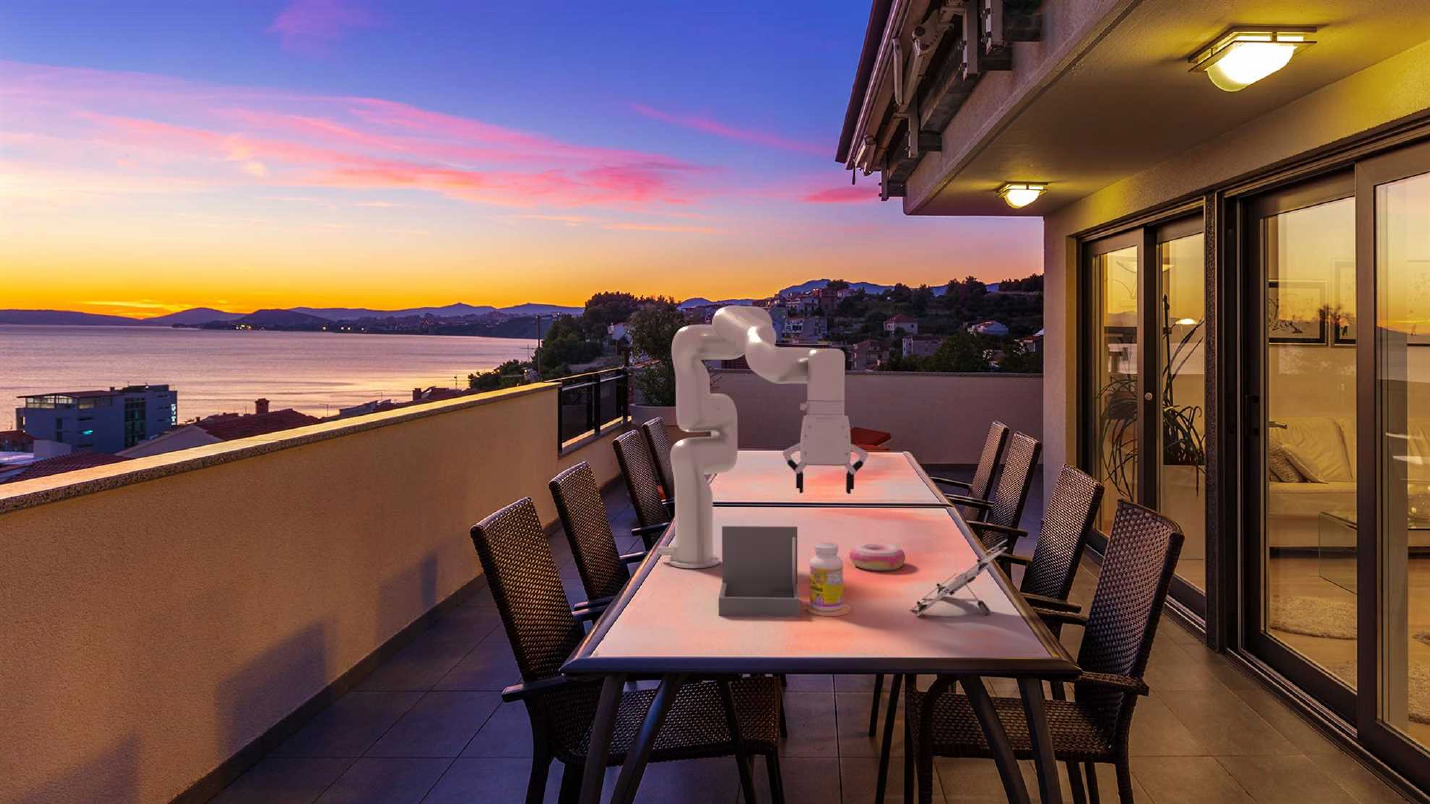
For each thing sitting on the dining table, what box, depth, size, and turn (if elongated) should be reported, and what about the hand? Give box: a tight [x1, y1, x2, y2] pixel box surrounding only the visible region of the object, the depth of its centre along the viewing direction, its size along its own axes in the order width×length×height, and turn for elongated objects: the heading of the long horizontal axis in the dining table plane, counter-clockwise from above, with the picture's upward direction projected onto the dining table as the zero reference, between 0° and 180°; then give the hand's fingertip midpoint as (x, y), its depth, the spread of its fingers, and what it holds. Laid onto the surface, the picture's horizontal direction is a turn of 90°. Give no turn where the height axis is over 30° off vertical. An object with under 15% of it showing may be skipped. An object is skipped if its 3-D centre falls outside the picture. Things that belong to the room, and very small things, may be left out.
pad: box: [805, 603, 851, 617], centre depth 169 cm, size 9×9×1 cm
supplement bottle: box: [809, 542, 844, 611], centre depth 169 cm, size 7×7×13 cm
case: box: [718, 525, 800, 618], centre depth 171 cm, size 16×13×16 cm
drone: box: [909, 539, 1008, 617], centre depth 167 cm, size 23×23×10 cm
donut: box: [849, 542, 906, 572], centre depth 206 cm, size 14×13×5 cm
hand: (824, 492), depth 171 cm, fingers open, 9 cm apart
